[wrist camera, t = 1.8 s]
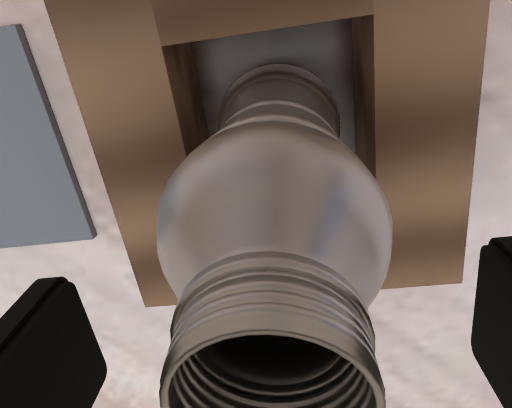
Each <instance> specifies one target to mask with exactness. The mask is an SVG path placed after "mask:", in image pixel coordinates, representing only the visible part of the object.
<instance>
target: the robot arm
mask: <svg viewBox="0 0 512 408" xmlns="http://www.w3.org/2000/svg"><path fill="white" fill-rule="evenodd" d="M471 346H472V351H473V354H474V356H475V358H476V360H477V362H478V364H479V365H480V367H481V369H482V371H483V372H484V374H485V376H486V378H487V379H488V381H489V383H490V385H491V386H492V388H493V390H494V392H495V393H496V395H497V397H498V399H499V400H500V402H501V404H502V406H503V407H504V408H512V236H509V237H498V238H492V239H491V240H490V241H489V244H488V245H484V246H482V248H481V251H480V260H479V269H478V279H477V288H476V298H475V307H474V317H473V326H472V336H471ZM106 374H107V366H106V362H105V360H104V357H103V355H102V352H101V350H100V347H99V345H98V342H97V340H96V337H95V335H94V332H93V330H92V327H91V325H90V322H89V319H88V317H87V314H86V312H85V309H84V307H83V304H82V302H81V299H80V297H79V294H78V292H77V289H76V287H75V285H74V284H73V283H72V282H68V280H67V279H66V278H65V277H53V278H41V279H37V280H36V281H35V282H34V283H33V284H32V285H31V286H30V287H29V288H28V289H27V290H26V291H25V292H24V293H23V295H22V296H21V297H20V298H19V299H18V300H17V301H16V302H15V303H14V304H13V305H12V306H11V307H10V309H9V310H8V311H7V312H6V313H5V314H4V315H3V316H2V317H1V318H0V408H92V406H93V404H94V401H95V399H96V397H97V395H98V393H99V391H100V389H101V387H102V385H103V383H104V381H105V378H106Z"/></svg>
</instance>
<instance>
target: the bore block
mask: <svg viewBox="0 0 512 408" xmlns="http://www.w3.org/2000/svg"><path fill="white" fill-rule="evenodd" d="M44 3H45V6H46V9H47V12H48V15H49V18H50V21H51V24H52V27H53V30H54V33H55V36H56V39H57V42H58V45H59V48H60V51H61V54H62V57H63V60H64V63H65V66H66V69H67V72H68V75H69V78H70V81H71V84H72V87H73V90H74V93H75V96H76V99H77V102H78V105H79V108H80V111H81V114H82V117H83V120H84V123H85V127H86V130H87V133H88V136H89V139H90V142H91V145H92V148H93V151H94V154H95V157H96V160H97V163H98V166H99V169H100V172H101V175H102V178H103V181H104V184H105V187H106V190H107V193H108V196H109V199H110V202H111V205H112V208H113V211H114V214H115V217H116V220H117V223H118V226H119V229H120V232H121V235H122V238H123V241H124V244H125V247H126V250H127V253H128V256H129V260H130V263H131V266H132V269H133V272H134V275H135V278H136V281H137V284H138V287H139V290H140V293H141V296H142V299H143V302H144V305H145V307H155V306H168V305H177V302H178V298H177V297H176V295H175V293H174V292H173V290H172V288H171V287H170V285H169V283H168V281H167V279H166V277H165V275H164V274H163V271H162V268H161V265H160V261H159V258H158V254H157V236H156V230H157V213H158V207H159V202H160V197H161V195H162V193H163V191H164V188H165V186H166V184H167V181H168V179H169V178H170V177H171V175H172V174H173V173H174V171H175V170H176V169H177V168H178V166H179V165H180V164H181V162H182V161H183V160H184V159H185V158H186V157H187V156H188V155H189V154H190V153H191V152H192V151H193V150H195V149H196V148H197V147H198V146H199V145H201V144H202V143H203V142H204V141H205V140H207V139H209V133H208V128H207V123H206V118H205V113H204V108H203V103H202V98H201V93H200V88H199V82H198V77H197V72H196V67H195V62H194V57H193V52H192V47H191V42H194V41H200V40H207V39H214V38H220V37H227V36H234V35H240V34H247V33H253V32H260V31H267V30H273V29H280V28H286V27H293V26H300V25H306V24H313V23H319V22H326V21H333V20H339V19H346V18H351V31H352V59H353V87H354V116H355V144H356V155H357V156H358V157H359V159H360V160H361V161H362V162H363V163H364V165H365V166H366V167H367V168H368V170H369V171H370V172H371V174H372V175H373V176H374V178H375V179H376V180H377V181H378V183H379V185H380V187H381V189H382V191H383V193H384V195H385V197H386V199H387V201H388V205H389V209H390V213H391V217H392V222H393V230H392V251H391V260H390V264H389V268H388V272H387V276H386V279H385V281H384V283H383V285H382V287H381V289H391V288H404V287H417V286H430V285H443V284H456V283H462V277H463V267H464V257H465V247H466V237H467V226H468V216H469V206H470V196H471V186H472V176H473V166H474V156H475V145H476V135H477V125H478V115H479V105H480V95H481V85H482V74H483V64H484V54H485V44H486V34H487V24H488V14H489V4H490V0H44Z"/></svg>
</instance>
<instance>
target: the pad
mask: <svg viewBox="0 0 512 408" xmlns="http://www.w3.org/2000/svg"><path fill="white" fill-rule="evenodd" d="M96 235H97V234H96V231H95V228H94V225H93V223H92V220H91V217H90V214H89V212H88V209H87V206H86V203H85V201H84V198H83V195H82V192H81V189H80V187H79V184H78V181H77V178H76V176H75V173H74V170H73V167H72V165H71V162H70V159H69V156H68V153H67V151H66V148H65V145H64V142H63V140H62V137H61V134H60V131H59V129H58V126H57V123H56V120H55V117H54V115H53V112H52V109H51V106H50V104H49V101H48V98H47V95H46V93H45V90H44V87H43V84H42V81H41V79H40V76H39V73H38V70H37V68H36V65H35V62H34V59H33V57H32V54H31V51H30V48H29V45H28V43H27V40H26V37H25V34H24V32H23V29H22V26H21V24H17V25H10V26H4V27H0V248H8V247H18V246H28V245H39V244H49V243H59V242H69V241H80V240H90V239H94V238H95V237H96Z"/></svg>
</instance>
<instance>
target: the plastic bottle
mask: <svg viewBox="0 0 512 408" xmlns="http://www.w3.org/2000/svg"><path fill="white" fill-rule="evenodd" d="M339 138H340V113H339V109H338V106H337V102H336V100H335V98H334V96H333V94H332V92H331V91H330V90H329V89H328V87H327V86H326V85H325V84H324V82H322V81H321V80H320V79H319V78H318V77H316V76H315V75H314V74H312V73H310V72H308V71H307V70H305V69H303V68H299V67H296V66H293V65H287V64H270V65H264V66H261V67H257V68H254V69H252V70H250V71H249V72H247V73H245V74H243V75H242V76H241V77H240V78H238V79H237V80H236V81H235V82H234V83H233V84H232V85H231V87H230V88H229V89H228V91H227V92H226V94H225V96H224V98H223V101H222V103H221V107H220V111H219V118H218V132H217V133H216V134H214V135H213V136H211V137H210V138H209V139H207V140H205V141H204V142H203V143H202V144H201V145H199V146H198V147H197V148H196V149H195V150H193V151H192V152H191V153H190V154H189V155H188V156H187V157H186V158H185V159H184V160H183V161H182V162H181V164H180V165H179V166H178V168H177V169H176V170H175V171H174V173H173V174H172V175H171V177H170V178H169V179H168V181H167V184H166V186H165V188H164V191H163V193H162V195H161V197H160V202H159V207H158V213H157V230H156V236H157V254H158V258H159V261H160V265H161V268H162V271H163V274H164V275H165V277H166V279H167V281H168V283H169V285H170V287H171V288H172V290H173V292H174V293H175V295H176V297H177V298H178V302H177V306H176V309H175V312H174V315H173V320H172V324H171V328H170V332H171V344H170V347H169V350H168V354H167V357H166V360H165V363H164V366H163V370H162V375H161V379H160V390H159V396H160V407H161V408H386V400H385V388H384V385H383V382H382V378H381V375H380V371H379V368H378V364H377V361H376V357H375V354H374V353H375V334H374V331H373V327H372V324H371V320H370V317H369V314H368V310H367V309H368V308H369V306H370V305H371V303H372V302H373V300H374V299H375V297H376V296H377V294H378V292H379V290H380V289H381V287H382V285H383V283H384V281H385V279H386V276H387V272H388V268H389V264H390V260H391V251H392V230H393V222H392V217H391V213H390V209H389V205H388V201H387V199H386V197H385V195H384V193H383V191H382V189H381V187H380V185H379V183H378V181H377V180H376V179H375V178H374V176H373V175H372V174H371V172H370V171H369V170H368V168H367V167H366V166H365V165H364V163H363V162H362V161H361V160H360V159H359V157H358V156H357V155H356V154H355V153H354V152H352V151H351V150H350V149H349V148H348V147H347V146H346V145H344V144H343V143H342V142H341V141H340V140H339Z"/></svg>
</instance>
